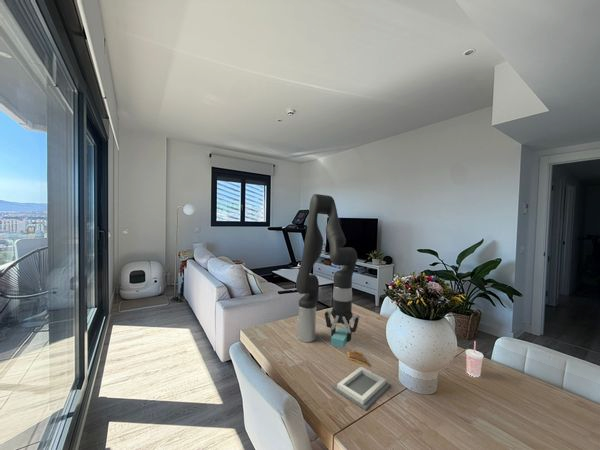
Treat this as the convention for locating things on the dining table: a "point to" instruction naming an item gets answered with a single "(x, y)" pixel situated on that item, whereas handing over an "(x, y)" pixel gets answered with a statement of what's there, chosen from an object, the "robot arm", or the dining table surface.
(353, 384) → the mat
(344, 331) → the teal block
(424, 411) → the dining table surface
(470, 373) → the beverage cup
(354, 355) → the shard
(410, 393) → the dining table surface
